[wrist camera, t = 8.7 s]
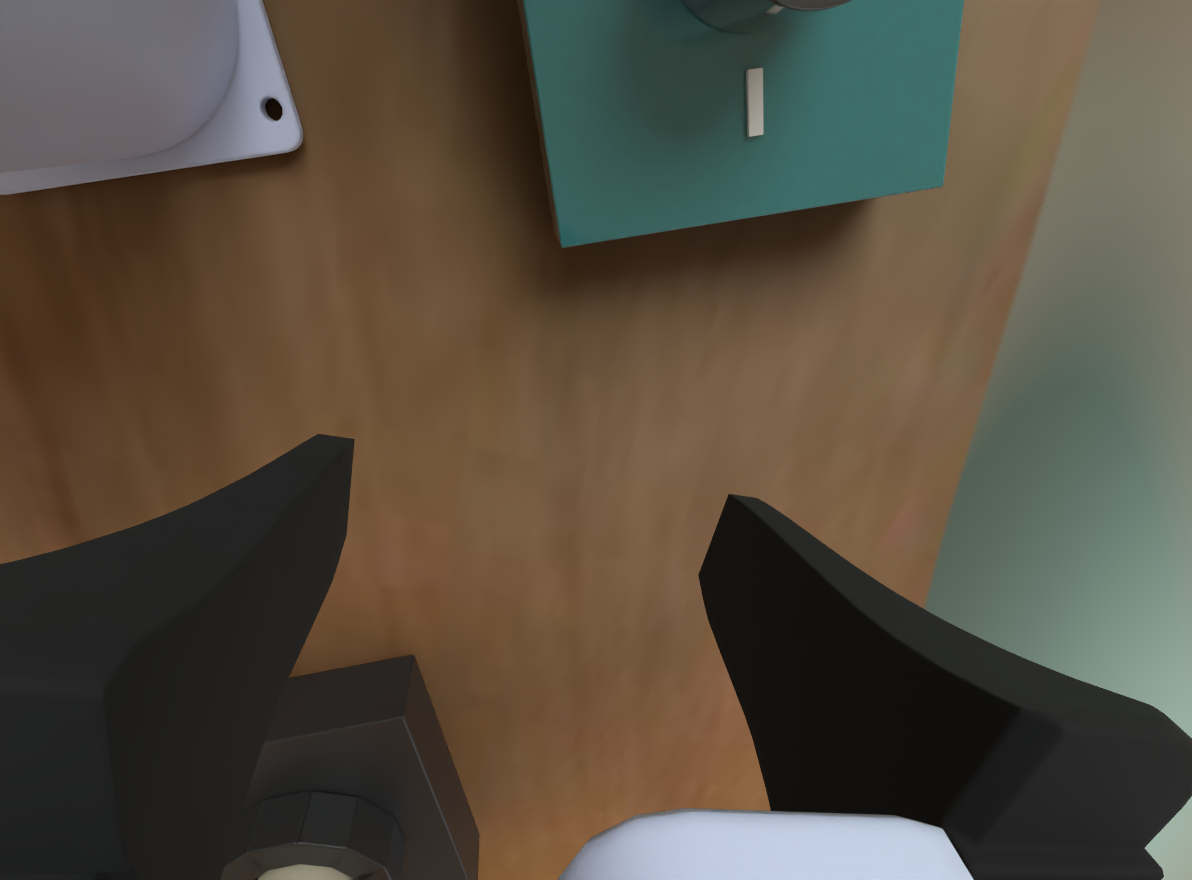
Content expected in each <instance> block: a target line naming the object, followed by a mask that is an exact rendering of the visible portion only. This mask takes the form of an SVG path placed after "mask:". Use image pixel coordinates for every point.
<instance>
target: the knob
mask: <svg viewBox="0 0 1192 880" xmlns="http://www.w3.org/2000/svg"><path fill="white" fill-rule="evenodd" d="M851 1H853V0H683V2H684V3H685V4H686V5H687V6H688V7H689V9H690V10H691V11H692V12H694V13H695V14H696V15H697V16H698V17H699V18H701V19H702V20H704V21H705V22H707V23H708V24H710V25H712V26H714V27H716V28H719V29H721V30H725V31H729V32H735V33H755V32H759V31H764V30H767V29H770V28H774V27H777V26H780V25H783V24H786V23H789V22H792V21H795V20H798V19H801V18H804V17H808V16H811V15H814V14H817V13H820V12H823V11H826V10H829V9H832V8H835V7H838V6H841V5H843V4H846V3H849V2H851Z"/></svg>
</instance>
